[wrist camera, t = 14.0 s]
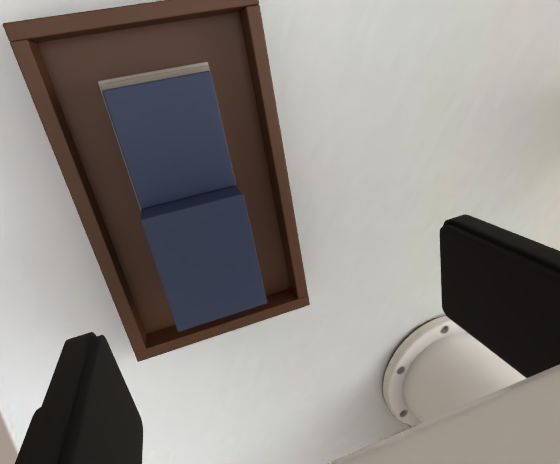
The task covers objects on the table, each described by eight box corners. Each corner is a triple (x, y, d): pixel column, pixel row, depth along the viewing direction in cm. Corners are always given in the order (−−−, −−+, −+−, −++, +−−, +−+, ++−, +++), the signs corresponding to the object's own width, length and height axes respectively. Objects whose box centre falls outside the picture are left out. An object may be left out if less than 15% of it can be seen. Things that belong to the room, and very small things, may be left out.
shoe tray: (299, 289, 31) (309, 304, 29) (138, 341, 29) (137, 362, 27) (246, -4, 23) (256, -13, 21) (17, 29, 21) (1, 23, 18)
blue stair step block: (169, 292, 27) (174, 338, 22) (100, 81, 22) (85, 80, 17) (251, 267, 29) (273, 306, 24) (204, 62, 23) (220, 56, 18)
